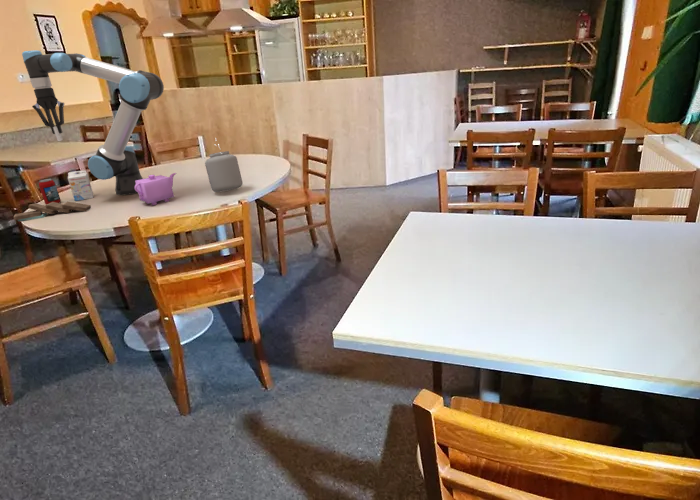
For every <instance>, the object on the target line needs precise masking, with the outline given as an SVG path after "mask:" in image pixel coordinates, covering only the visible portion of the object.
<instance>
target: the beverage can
mask: <svg viewBox="0 0 700 500" xmlns="http://www.w3.org/2000/svg"><path fill="white" fill-rule="evenodd" d="M38 187H39V190H40V192H41V196H42V198H43V201H44V204H45V206H46V205H47V204H49V203H51V202H56V203H60V202H61V201H62V200H61V197H60V194H59V191H58V188H57V186H56V183H55V181H54V180H53V179H52V178H45V179H40V180H38ZM60 204H61V203H60Z"/></svg>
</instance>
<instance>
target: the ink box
mask: <svg viewBox="0 0 700 500" xmlns="http://www.w3.org/2000/svg"><path fill="white" fill-rule="evenodd" d="M67 175H68V176H67V181H68V184H69V187H70V189H71V192H72V196H73V199H74V201H75V202H77V201H83V200H88V199H93V198H94V196H93V194H94V191H93V189H92V185H91V181H90V178H89V175H88V172H87V171H86V170H77V171H70V172H68V173H67Z"/></svg>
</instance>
